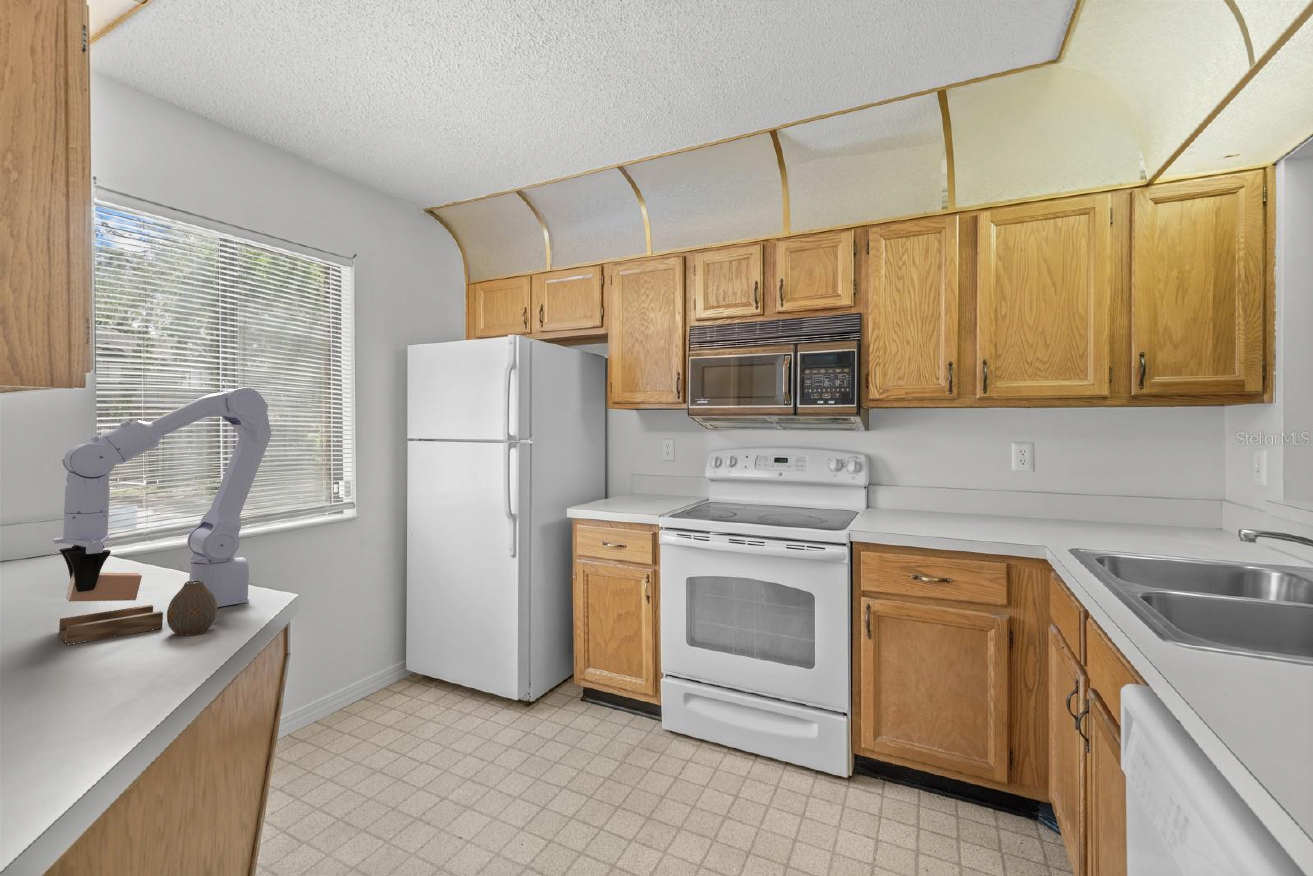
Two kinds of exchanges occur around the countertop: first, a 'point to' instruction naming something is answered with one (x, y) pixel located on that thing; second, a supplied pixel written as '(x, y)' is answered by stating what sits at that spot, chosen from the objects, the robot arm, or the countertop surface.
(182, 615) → the vase
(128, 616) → the rack
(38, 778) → the countertop surface
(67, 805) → the countertop surface
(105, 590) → the clay strip
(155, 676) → the countertop surface
